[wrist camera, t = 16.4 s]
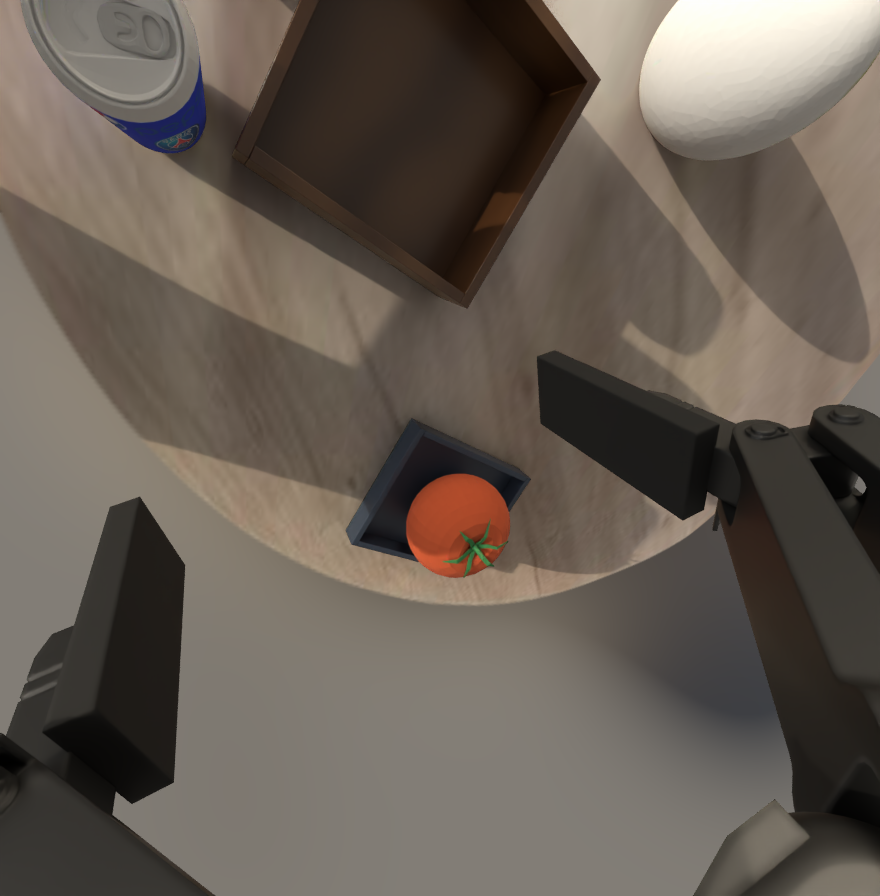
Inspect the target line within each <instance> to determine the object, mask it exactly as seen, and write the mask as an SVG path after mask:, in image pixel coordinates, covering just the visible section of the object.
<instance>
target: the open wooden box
mask: <svg viewBox="0 0 880 896" xmlns="http://www.w3.org/2000/svg"><path fill="white" fill-rule="evenodd" d="M600 80H601V79H600V78H599V76H598V75H597V74H596V72H595V71H594V70H593V68H592V67H591V66H590V64H589V63H588V62H587V60H586V59H585V57H584V56H583V55H582V53H581V52H580V51H579V49H578V48H577V47H576V45H575V44H574V43H573V41H572V40H571V39H570V37H569V36H568V35H567V33H566V32H565V31H564V29H563V28H562V27H561V25H560V24H559V22H558V21H557V20H556V18H555V17H554V16H553V14H552V13H551V12H550V10H549V9H548V8H547V6H546V5H545V4H544V2H543V1H542V0H300V1H299V3H298V6H297V8H296V10H295V12H294V15H293V17H292V19H291V22H290V24H289V26H288V28H287V31H286V33H285V35H284V37H283V40H282V42H281V44H280V47H279V49H278V51H277V53H276V56H275V58H274V60H273V62H272V65H271V67H270V69H269V72H268V74H267V76H266V78H265V81H264V83H263V85H262V87H261V90H260V92H259V94H258V97H257V99H256V101H255V103H254V106H253V108H252V110H251V112H250V115H249V117H248V119H247V122H246V124H245V126H244V128H243V131H242V133H241V135H240V137H239V140H238V142H237V144H236V147H235V149H234V152H233V155H232V157H233V158H234V159H236V160H237V161H239V162H240V163H242V164H243V165H245V166H246V167H248V168H249V169H251V170H252V171H253V172H255V173H256V174H258V175H259V176H261V177H262V178H264V179H265V180H267V181H268V182H270V183H271V184H273V185H274V186H276V187H277V188H279V189H280V190H282V191H283V192H285V193H286V194H288V195H289V196H290V197H292V198H293V199H295V200H296V201H298V202H299V203H301V204H302V205H304V206H305V207H307V208H308V209H310V210H311V211H313V212H314V213H316V214H317V215H319V216H320V217H322V218H323V219H325V220H326V221H328V222H329V223H330V224H332V225H333V226H335V227H336V228H338V229H339V230H341V231H342V232H344V233H345V234H347V235H348V236H350V237H351V238H353V239H354V240H356V241H357V242H359V243H360V244H362V245H363V246H365V247H366V248H367V249H369V250H370V251H372V252H373V253H375V254H376V255H378V256H379V257H381V258H382V259H384V260H385V261H387V262H388V263H390V264H391V265H393V266H394V267H396V268H397V269H399V270H400V271H402V272H403V273H405V274H406V275H407V276H409V277H410V278H412V279H413V280H415V281H416V282H418V283H419V284H421V285H422V286H424V287H425V288H427V289H428V290H430V291H431V292H433V293H434V294H436V295H437V296H439V297H440V298H443V299H445V300H448V301H450V302H452V303H455V304H457V305H459V306H462V307H464V308H466V309H467V308H468V307H469V305H470V303H471V301H472V300H473V298H474V296H475V295H476V293H477V291H478V289H479V288H480V286H481V284H482V283H483V281H484V279H485V277H486V276H487V274H488V272H489V271H490V269H491V267H492V265H493V264H494V262H495V260H496V259H497V257H498V255H499V253H500V252H501V250H502V248H503V247H504V245H505V243H506V241H507V240H508V238H509V236H510V235H511V233H512V231H513V229H514V228H515V226H516V224H517V223H518V221H519V219H520V217H521V216H522V214H523V212H524V211H525V209H526V207H527V205H528V204H529V202H530V200H531V199H532V197H533V195H534V193H535V192H536V190H537V188H538V187H539V185H540V183H541V181H542V180H543V178H544V176H545V175H546V173H547V171H548V169H549V168H550V166H551V164H552V163H553V161H554V159H555V157H556V156H557V154H558V152H559V151H560V149H561V147H562V145H563V144H564V142H565V140H566V139H567V137H568V135H569V133H570V132H571V130H572V128H573V127H574V125H575V123H576V121H577V120H578V118H579V116H580V115H581V113H582V111H583V109H584V108H585V106H586V104H587V103H588V101H589V99H590V97H591V96H592V94H593V92H594V91H595V89H596V87H597V85H598V84H599V82H600Z"/></svg>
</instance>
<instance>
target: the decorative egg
mask: <svg viewBox="0 0 880 896" xmlns="http://www.w3.org/2000/svg"><path fill="white" fill-rule="evenodd" d="M879 52H880V0H679V1H678V2H677V3H676V4H675V5H674V6H673V8H672V9H671V10H670V12H669V13H668V14H667V16H666V17H665V19H664V20H663V22H662V23H661V25H660V26H659V28H658V30H657V32H656V34H655V35H654V37H653V39H652V41H651V43H650V46H649V48H648V50H647V53H646V56H645V59H644V62H643V66H642V71H641V76H640V85H639V99H640V108H641V112H642V115H643V119H644V121H645V123H646V125H647V127H648V129H649V130H650V132H651V134H652V135H653V136H654V137H655V139H656V140H657V141H658V142H659V143H660V144H662V145H663V146H664V147H665V148H667V149H668V150H670V151H672V152H673V153H676V154H678V155H681V156H683V157H687V158H691V159H697V160H724V159H730V158H735V157H740V156H744V155H748V154H751V153H754V152H757V151H760V150H763V149H765V148H768V147H770V146H772V145H775V144H777V143H779V142H781V141H783V140H785V139H787V138H789V137H791V136H792V135H794V134H796V133H798V132H799V131H801V130H802V129H804V128H806V127H807V126H809V125H810V124H812V123H813V122H814V121H816V120H817V119H818V118H820V117H821V116H822V115H824V114H825V113H826V112H827V111H829V110H830V109H831V108H832V107H833V106H835V105H836V104H837V103H838V102H839V101H840V100H841V99H842V98H843V97H844V96H845V95H846V94H847V93H848V92H849V91H850V90H851V89H852V88H853V87H854V86H855V85H856V84H857V83H858V81H859V80H860V79H861V78H862V77H863V76H864V74H865V73H866V72H867V70H868V69H869V68H870V66H871V65H872V63H873V62H874V60H875V59H876V57H877V55H878V54H879Z"/></svg>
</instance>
